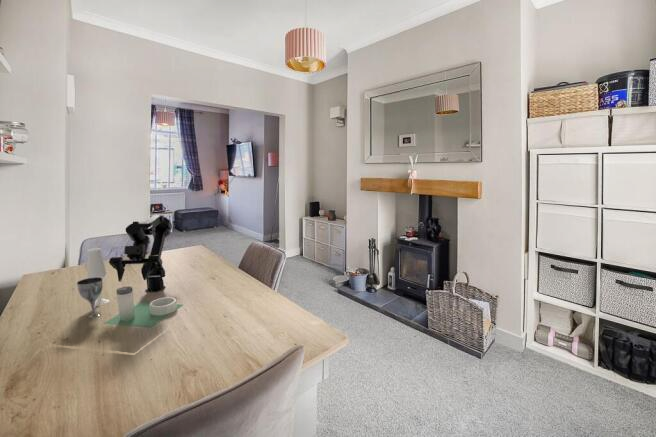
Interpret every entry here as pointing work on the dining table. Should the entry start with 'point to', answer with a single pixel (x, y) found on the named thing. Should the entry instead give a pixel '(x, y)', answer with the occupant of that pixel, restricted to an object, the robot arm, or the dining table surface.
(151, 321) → the putting green
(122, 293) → the golf ball tube
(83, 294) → the wine glass
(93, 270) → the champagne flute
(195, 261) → the dining table surface
